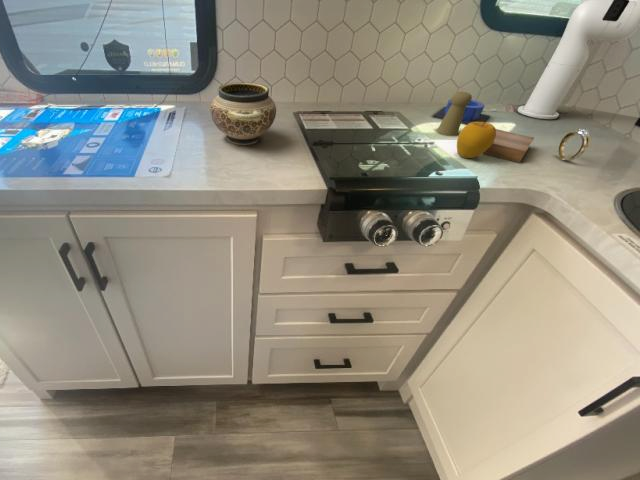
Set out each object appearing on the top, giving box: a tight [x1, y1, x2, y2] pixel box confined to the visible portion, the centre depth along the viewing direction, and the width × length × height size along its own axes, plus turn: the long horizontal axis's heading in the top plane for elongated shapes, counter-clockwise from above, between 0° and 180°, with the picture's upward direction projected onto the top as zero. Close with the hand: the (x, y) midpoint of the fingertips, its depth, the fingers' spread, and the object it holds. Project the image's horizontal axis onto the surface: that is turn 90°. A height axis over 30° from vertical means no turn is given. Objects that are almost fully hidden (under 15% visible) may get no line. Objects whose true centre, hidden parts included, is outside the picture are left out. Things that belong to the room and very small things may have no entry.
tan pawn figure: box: [436, 91, 473, 137], centre depth 105 cm, size 6×6×11 cm
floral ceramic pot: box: [209, 82, 277, 146], centre depth 94 cm, size 24×18×15 cm
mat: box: [432, 106, 490, 126], centre depth 120 cm, size 15×15×1 cm
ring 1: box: [444, 98, 486, 121], centre depth 118 cm, size 11×11×4 cm
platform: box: [482, 128, 535, 163], centre depth 99 cm, size 14×14×3 cm
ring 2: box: [558, 127, 591, 161], centre depth 92 cm, size 7×3×8 cm, turn 179°
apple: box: [456, 121, 497, 159], centre depth 91 cm, size 8×8×9 cm
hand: (609, 19), depth 92 cm, fingers open, 9 cm apart
